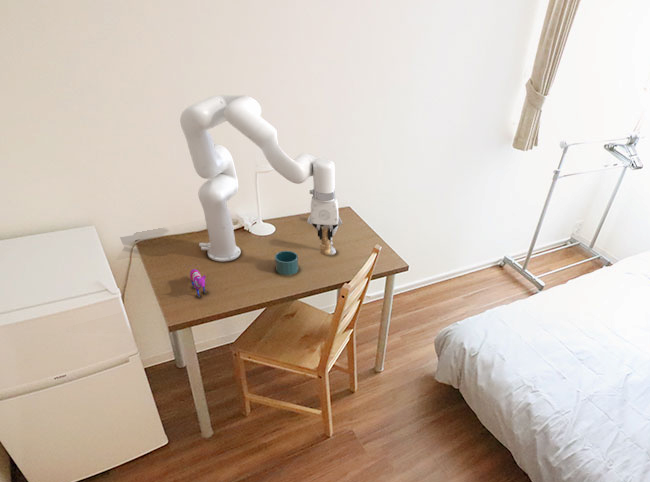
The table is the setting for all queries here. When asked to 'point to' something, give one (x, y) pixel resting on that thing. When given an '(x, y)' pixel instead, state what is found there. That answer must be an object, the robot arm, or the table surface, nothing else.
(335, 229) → the chalice
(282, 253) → the crock
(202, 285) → the toy dog
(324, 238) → the pestle
